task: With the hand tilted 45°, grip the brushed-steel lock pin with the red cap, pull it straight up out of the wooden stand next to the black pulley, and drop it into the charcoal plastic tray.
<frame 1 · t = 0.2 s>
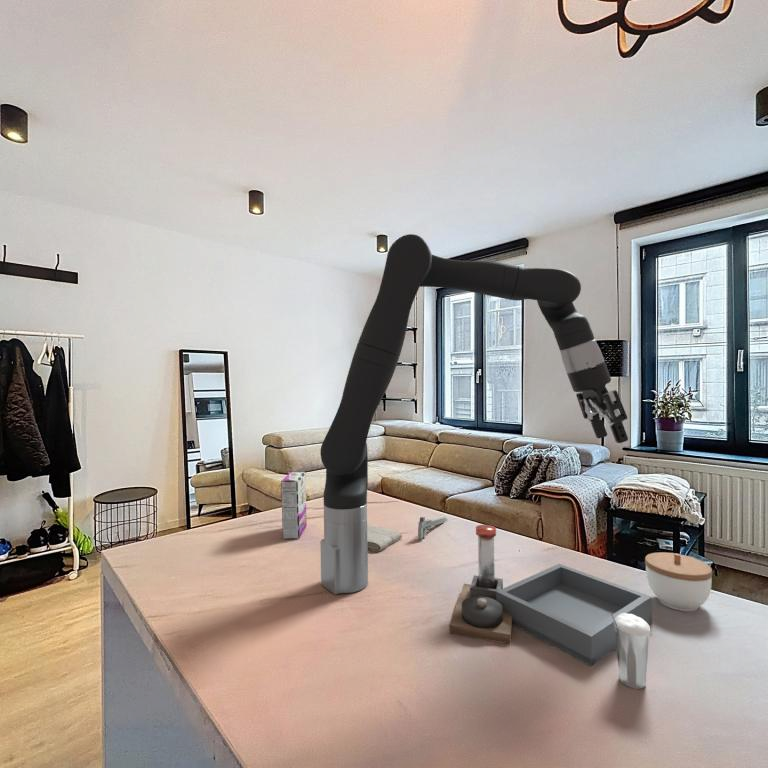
hand: (612, 439, 91), 31 cm above the worktop, tool tilted 20°, fingers open, 8 cm apart
candy bar box: (294, 533, 128), on the worktop
lock pin: (486, 596, 85), point 1 cm above the worktop, touching wooden stand
lidded jar: (677, 604, 85), on the worktop
wooden stand: (486, 603, 85), on the worktop
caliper: (433, 531, 129), on the worktop
washcloth: (364, 541, 122), on the worktop
tray: (572, 619, 80), on the worktop
milkshake: (629, 683, 63), on the worktop
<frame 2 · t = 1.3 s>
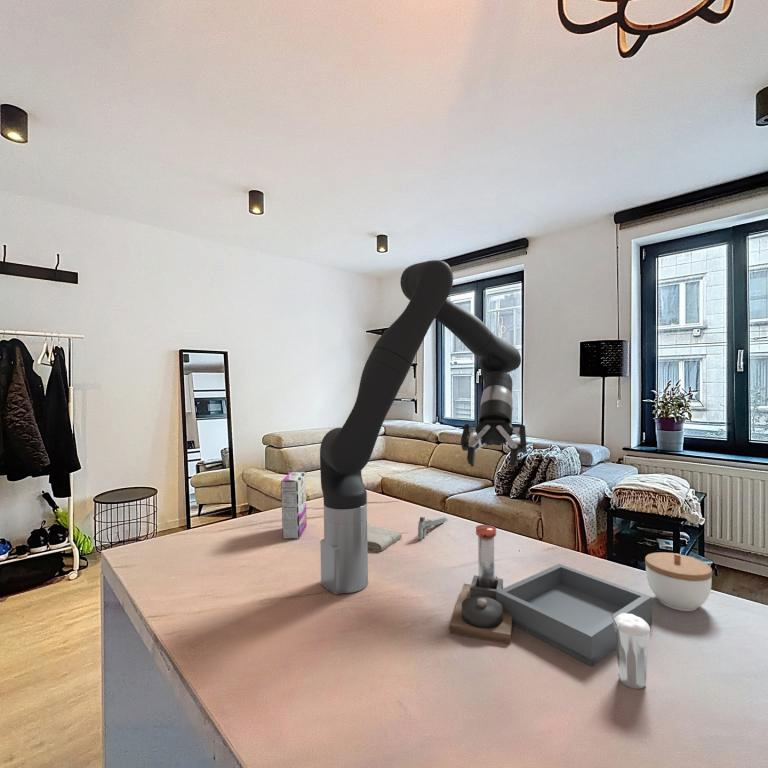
hand: (491, 465, 96), 25 cm above the worktop, tool tilted 45°, fingers open, 8 cm apart
nothing on the worktop moved.
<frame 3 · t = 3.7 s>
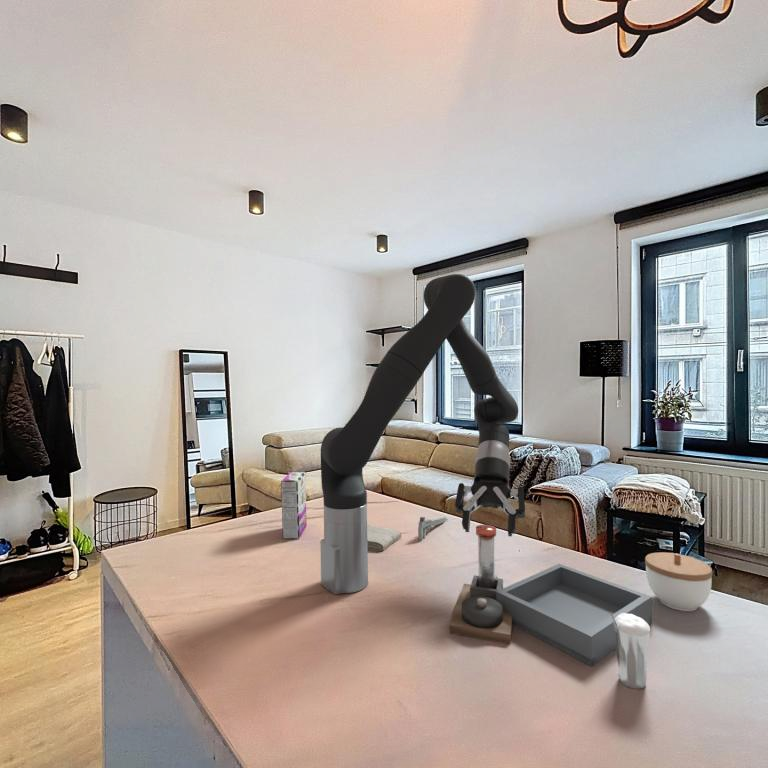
hand: (488, 532, 90), 12 cm above the worktop, tool tilted 45°, fingers open, 8 cm apart
nothing on the worktop moved.
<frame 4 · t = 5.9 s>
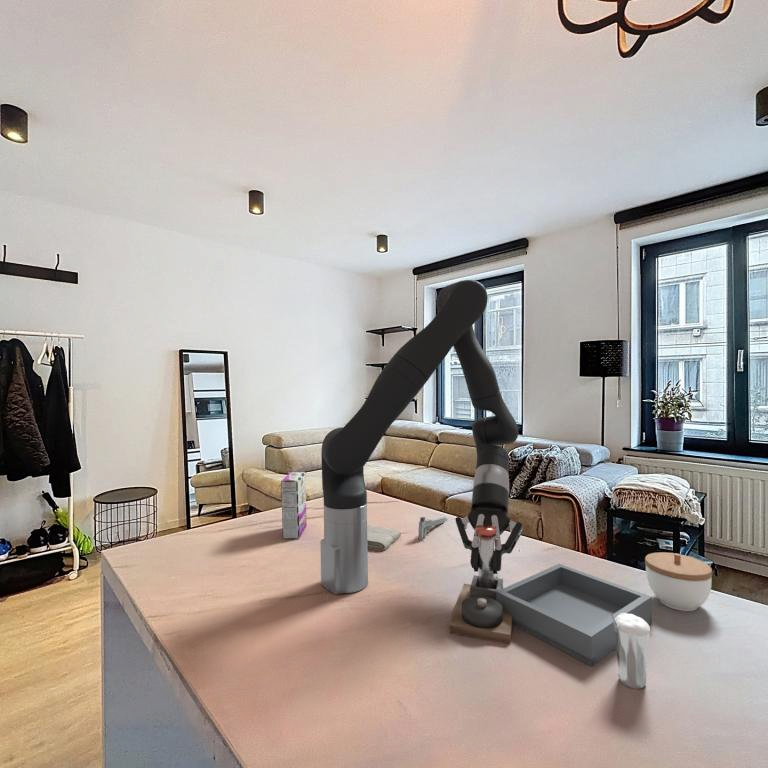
hand: (485, 570, 84), 7 cm above the worktop, tool tilted 45°, fingers closed on lock pin, 3 cm apart
lock pin: (486, 596, 85), point 2 cm above the worktop, touching gripper, wooden stand
everything else where it was.
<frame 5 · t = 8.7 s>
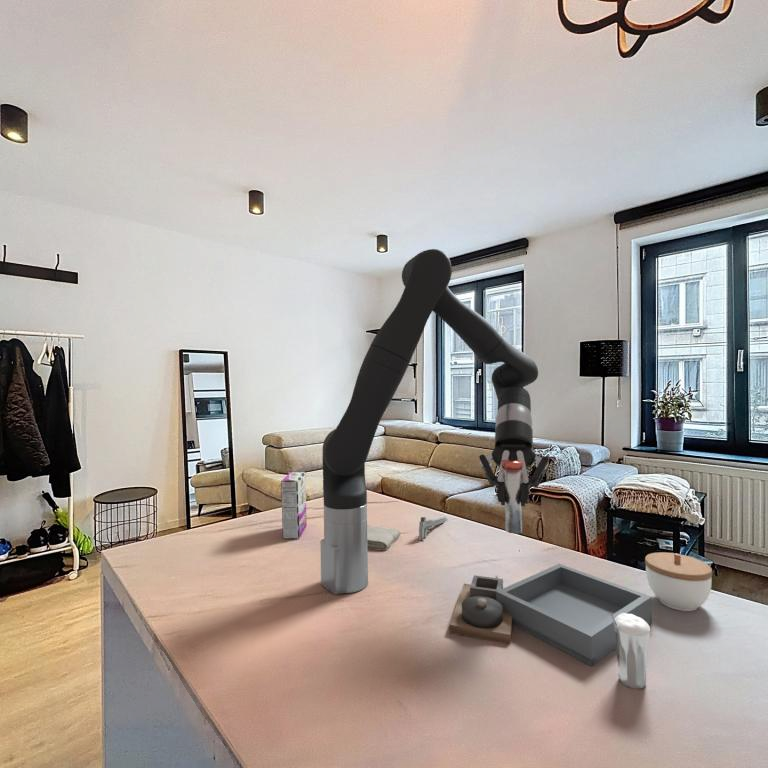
hand: (513, 503, 82), 20 cm above the worktop, tool tilted 45°, fingers closed on lock pin, 3 cm apart
lock pin: (513, 530, 84), point 15 cm above the worktop, touching gripper
everything else where it was.
when the fingers open (9 cm above the worktop, at t = 11.7 s): lock pin drops 2 cm, resting on tray.
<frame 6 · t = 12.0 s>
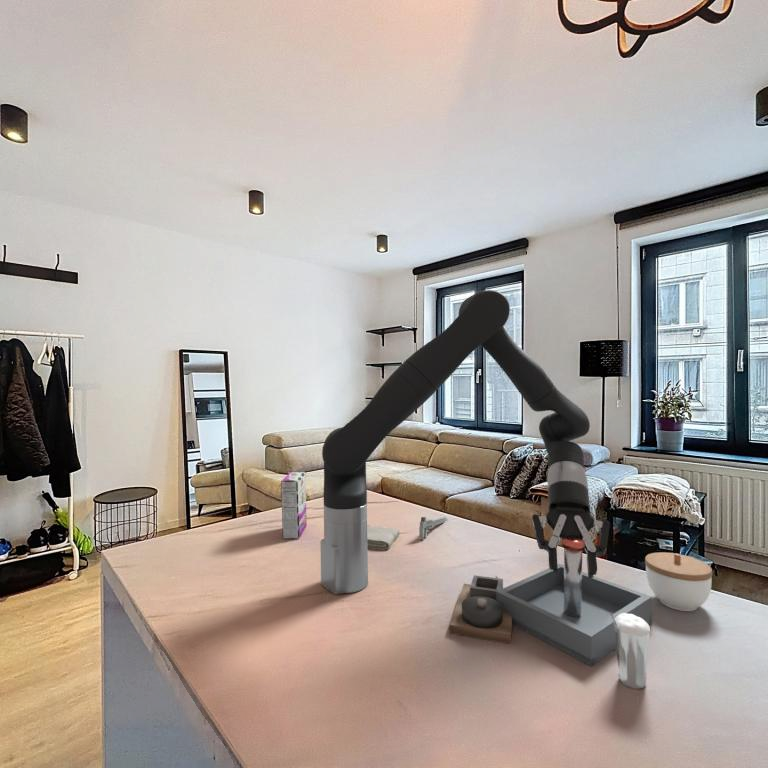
hand: (573, 573, 78), 9 cm above the worktop, tool tilted 45°, fingers open, 5 cm apart
lock pin: (572, 613, 80), point 1 cm above the worktop, touching tray
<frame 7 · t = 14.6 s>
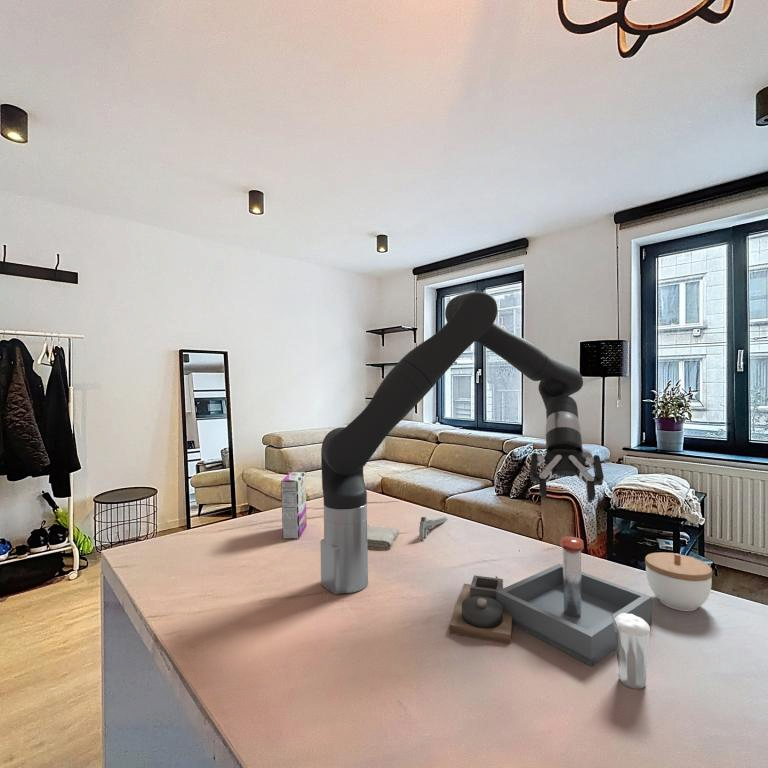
hand: (567, 499, 90), 19 cm above the worktop, tool tilted 45°, fingers open, 8 cm apart
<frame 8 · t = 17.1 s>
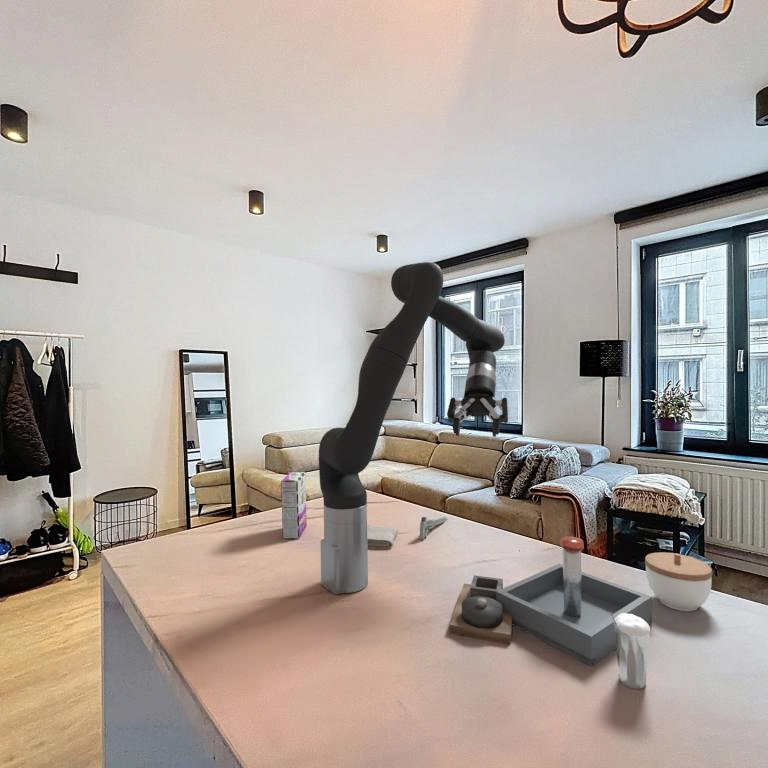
hand: (475, 434, 103), 31 cm above the worktop, tool tilted 45°, fingers open, 8 cm apart
at the end: lock pin inside the target area on the tray (0.1 cm from its centre), point 1.0 cm above the tray's base; the gripper is holding nothing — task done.
